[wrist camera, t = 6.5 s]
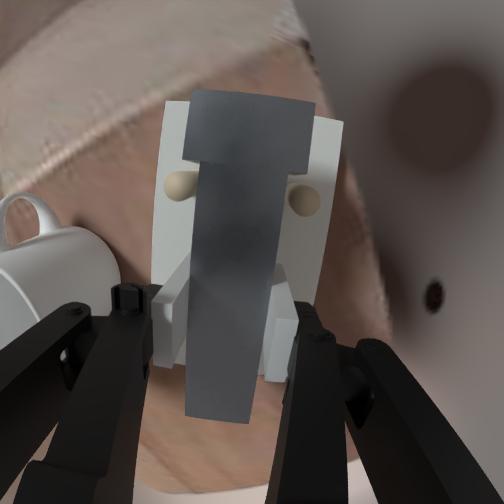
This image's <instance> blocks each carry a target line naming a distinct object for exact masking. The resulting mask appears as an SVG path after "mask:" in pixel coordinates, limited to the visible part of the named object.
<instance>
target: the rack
mask: <svg viewBox="0 0 504 504" xmlns="http://www.w3.org/2000/svg"><path fill="white" fill-rule="evenodd" d="M189 105H190V102H187V101H166V105H165V112H164V118H163V126H162V133H161V141H160V149H159V158H158V168H157V178H156V190H155V203H154V218H153V237H152V269H151V284H158V285H164V284H165V283H166V281H167V280H168V279H169V278H170V276H171V275H172V274H173V272H174V271H175V270H176V269H177V267H178V266H179V265H180V264H181V262H182V261H183V260H184V258H185V257H186V256H187V255H188V253H189V252H191V246H192V234H193V223H194V212H195V202H196V192H197V183H198V174H199V166H200V164H197V163H193V162H189V161H185V160H182V155H183V147H184V139H185V132H186V125H187V118H188V112H189ZM342 131H343V122H342V121H338V120H333V119H328V118H323V117H318V116H314V123H313V131H312V140H311V148H310V156H309V164H308V172H307V174H304V175H295V176H293V175H288V179H287V187H286V194H285V201H284V209H283V216H282V223H281V230H280V237H279V244H278V250H277V257H276V263H281V264H282V265H283V268H284V271H285V275H286V278H287V281H288V285H289V288H290V291H291V295H292V298H293V301H301V302H308V303H310V304H311V305H312V306H313V305H314V300H315V296H316V291H317V286H318V281H319V276H320V271H321V266H322V261H323V256H324V251H325V245H326V240H327V234H328V228H329V223H330V217H331V211H332V204H333V198H334V191H335V185H336V178H337V171H338V163H339V156H340V148H341V140H342ZM185 362H186V335H185V338H184V340H183V343H182V345H181V348H180V350H179V353H178V355H177V358H176V360H175V364H181V365H185ZM258 374H259V375H265V374H264V352H263V346H262V352H261V357H260V363H259V369H258ZM286 377H288V373H287V375H286Z"/></svg>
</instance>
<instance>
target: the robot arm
mask: <svg viewBox="0 0 504 504" xmlns="http://www.w3.org/2000/svg"><path fill="white" fill-rule="evenodd" d="M190 259H191V252H189V253H188V255H187V256H186V257H185V258H184V260H183V261H182V262H181V264H180V265H179V266H178V267H177V269H176V270H175V271H174V272H173V274H172V275H171V276H170V278H169V279H168V280H167V281H166V283H165V284H164V285H158V284H150V285H148V286H146V287H144V286H142V285H139V284H135V283H122V284H117V285H115V286H113V287H112V288H111V303H112V310H111V312H110V314H109V316H92V315H91V307H90V306H89V305H87V304H85V303H80V302H70V303H66V304H64V305H62V306H60V307H59V308H57V309H56V310H54V311H53V312H52V313H50V314H49V315H47V316H46V317H45V318H43V319H42V320H40V321H39V322H38V323H36V324H35V325H33V326H32V327H31V328H29V329H28V330H27V331H25V332H24V333H23V334H21V335H20V336H18V337H17V338H16V339H14V340H13V341H12V342H10V343H9V344H8V345H7V346H5V347H4V348H3V349H1V350H0V500H1V499H2V498H3V496H4V495H5V493H6V492H7V490H8V489H9V487H10V486H11V485H12V483H13V482H14V480H15V479H16V478H17V476H18V475H19V473H20V472H21V471H22V469H23V468H24V467H25V465H26V464H27V463H28V461H29V460H30V458H31V457H32V456H33V454H34V453H35V452H36V450H37V449H38V448H39V446H40V445H41V444H42V442H43V441H44V440H45V438H46V437H47V436H48V434H49V433H50V432H51V431H52V429H53V428H54V427H55V425H56V424H57V423H58V422H59V423H58V425H57V427H56V430H55V432H54V435H53V437H52V441H51V443H50V446H49V448H48V451H47V454H46V456H45V458H44V459H43V460H42V461H36V460H32V461H31V462H29V463H28V464H27V466H26V468H25V470H24V472H23V475H22V478H21V481H20V483H19V486H18V489H17V492H16V495H15V498H14V502H13V504H132V500H133V488H134V477H135V468H136V459H137V450H138V442H139V434H140V427H141V420H142V413H143V407H144V401H145V394H146V388H147V383H148V377H149V360H150V358H151V356H152V354H153V365H154V366H159V367H164V368H170V369H172V368H173V365H174V363H175V360H176V358H177V355H178V353H179V350H180V348H181V345H182V343H183V340H184V338H185V335H186V333H187V318H188V298H189V281H190V276H189V273H190ZM63 351H65V356H66V357H65V358H64V359H63V360H62V361H61V358H60V357H61V354H62V352H63ZM263 352H264V374H265V381H270V382H284V383H285V379H286V375H287V373H288V382H287V386H286V390H285V394H284V397H283V401H282V404H283V409H282V415H281V421H280V427H279V433H278V439H277V444H276V450H275V455H274V461H273V466H272V471H271V476H270V481H269V486H268V491H267V496H266V500H265V504H348V472H347V452H346V435H345V422H346V425H347V427H348V429H349V432H350V434H351V437H352V439H353V442H354V444H355V447H356V449H357V451H358V454H359V456H360V459H361V461H362V464H363V466H364V469H365V471H366V474H367V476H368V479H369V481H370V484H371V486H372V488H373V491H374V494H375V496H376V499H377V501H378V504H504V502H503V500H502V499H501V497H500V496H499V494H498V493H497V491H496V489H495V488H494V486H493V485H492V483H491V482H490V480H489V479H488V477H487V476H486V474H485V473H484V472H483V470H482V469H481V467H480V466H479V464H478V463H477V461H476V460H475V458H474V457H473V456H472V454H471V453H470V451H469V450H468V449H467V447H466V446H465V445H464V443H463V442H462V440H461V439H460V437H459V436H458V435H457V433H456V432H455V430H454V429H453V428H452V427H451V425H450V424H449V422H448V421H447V420H446V418H445V417H444V416H443V414H442V413H441V412H440V410H439V409H438V408H437V406H436V405H435V404H434V402H433V401H432V400H431V398H430V397H429V396H428V394H427V393H426V392H425V391H424V389H423V388H422V387H421V385H420V384H419V383H418V382H417V380H416V379H415V378H414V377H413V375H412V374H411V373H410V372H409V370H408V369H407V368H406V366H405V365H404V364H403V363H402V361H401V360H400V359H399V358H398V356H397V355H396V354H395V353H394V351H393V350H392V349H391V348H390V347H389V346H388V345H387V344H386V343H384V342H382V341H381V340H377V339H374V338H373V339H369V338H367V339H361V340H359V341H358V343H357V346H356V348H351V347H347V346H343V345H340V344H337V343H336V338H335V336H334V334H333V333H331V332H330V331H328V330H326V329H324V328H323V326H322V324H321V322H320V319H319V317H318V314H317V312H316V310H315V307H313V306H312V305H311V304H310V303H308V302H301V301H293V298H292V295H291V291H290V288H289V285H288V281H287V278H286V275H285V271H284V268H283V265H282V264H281V263H276V264H275V271H274V277H273V284H272V289H271V295H270V301H269V308H268V314H267V320H266V326H265V332H264V339H263ZM344 420H345V422H344Z"/></svg>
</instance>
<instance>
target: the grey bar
mask: <svg viewBox="0 0 504 504" xmlns="http://www.w3.org/2000/svg"><path fill="white" fill-rule="evenodd" d="M315 104H316V103H313V102H307V101H301V100H295V99H289V98H283V97H276V96H268V95H260V94H251V93H242V92H231V91H217V90H199V89H192V93H191V99H190V105H189V112H188V118H187V125H186V132H185V139H184V147H183V155H182V160H185V161H189V162H193V163H197V164H200V166H199V174H198V183H197V192H196V202H195V212H194V223H193V234H192V246H191V259H190V273H189V276H190V281H189V298H188V318H187V333H186V362H185V416H190V417H196V418H202V419H209V420H216V421H224V422H232V423H242V424H249V419H250V414H251V408H252V403H253V397H254V392H255V386H256V381H257V375H258V369H259V363H260V357H261V352H262V346H263V339H264V332H265V326H266V320H267V314H268V308H269V301H270V295H271V289H272V284H273V277H274V271H275V264H276V257H277V250H278V244H279V237H280V230H281V223H282V216H283V209H284V201H285V194H286V187H287V179H288V175H293V176H295V175H304V174H307V172H308V164H309V156H310V148H311V140H312V131H313V123H314V114H315Z"/></svg>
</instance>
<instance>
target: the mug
mask: <svg viewBox="0 0 504 504" xmlns="http://www.w3.org/2000/svg"><path fill="white" fill-rule="evenodd" d="M18 198H24V199H26V200H28V201H30V202H31V203H32V204H33V205H34V206H35V208H36V210H37V212H38V215H39V220H40V234H39V235H38V236H36V237H33V238H31V239H28V240H26V241H23V242H21V243H19V244H16V245H14V246H11V247H10V245H9V243H8V239H7V235H6V230H5V215H6V211H7V208H8V206H9V205H10V203H11V202H12V201H14V200H15V199H18ZM117 284H121V278H120V271H119V267H118V264H117V262H116V259H115V257H114V255H113V253H112V252H111V250H110V249H109V247H108V246H107V245H106V243H105V242H104V241H103V240H102V239H101V238H99V237H98V236H97V235H96V234H94V233H93V232H91V231H89V230H87V229H85V228H82V227H77V226H65V227H62V225H61V223H60V221H59V219H58V217H57V215H56V214H55V212H54V210H53V209H52V208H51V207H50V205H49V204H48V203H47V202H46V201H44V200H43V199H42V198H40V197H39V196H37V195H34V194H32V193H26V192H19V193H13V194H10V195H8V196H6V197H4V198H3V199H2V200H1V201H0V350H1V349H3V348H4V347H5V346H7V345H8V344H9V343H10V342H12V341H13V340H14V339H16V338H17V337H18V336H20V335H21V334H23V333H24V332H25V331H27V330H28V329H29V328H31V327H32V326H33V325H35V324H36V323H38V322H39V321H40V320H42V319H43V318H45V317H46V316H47V315H49V314H50V313H52V312H53V311H54V310H56V309H57V308H59V307H60V306H62V305H64V304H66V303H70V302H80V303H85V304H87V305H89V306H90V307H91V315H92V316H109V314H110V312H111V310H112V303H111V288H112V287H113V286H115V285H117ZM65 357H66V356H65V351H63V352H62V354H61V357H60V358H61V361H62V360H63V359H64V358H65Z"/></svg>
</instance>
